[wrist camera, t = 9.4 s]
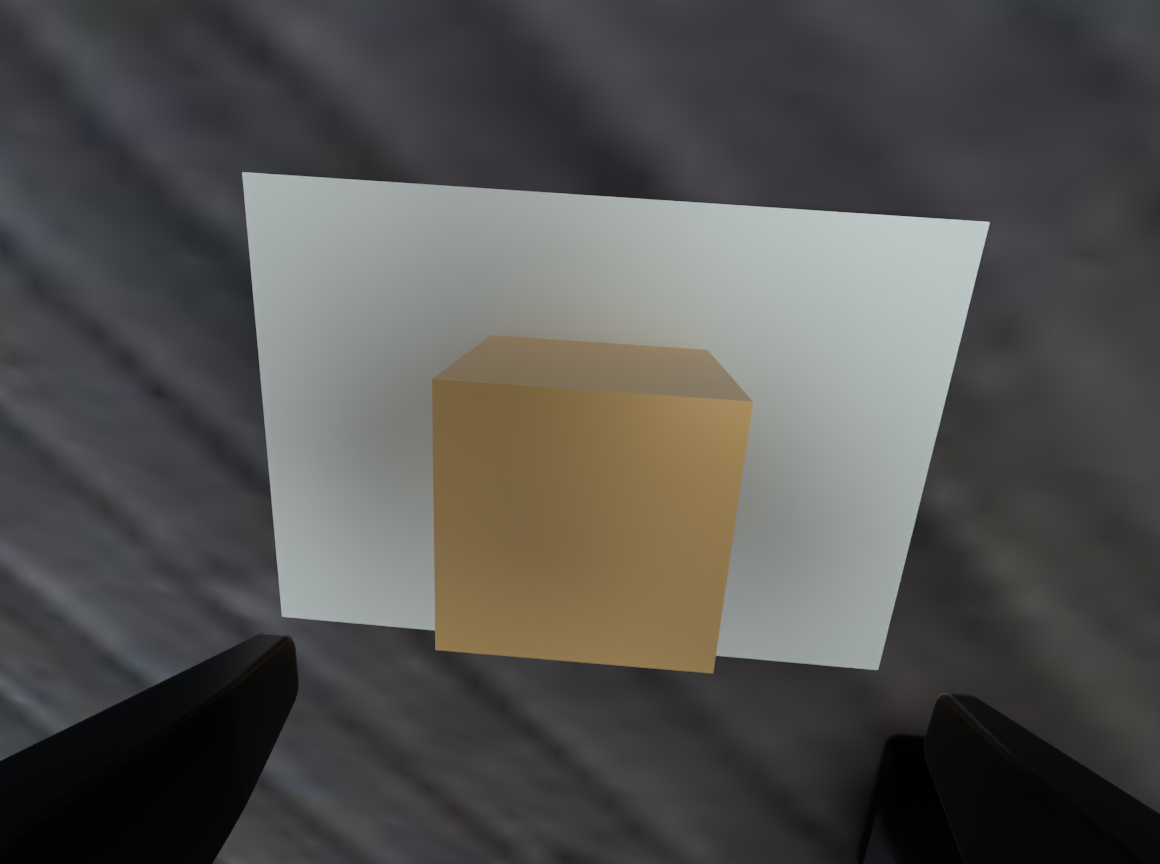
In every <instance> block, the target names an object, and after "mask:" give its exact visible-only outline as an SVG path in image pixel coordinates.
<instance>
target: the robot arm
mask: <svg viewBox="0 0 1160 864" xmlns="http://www.w3.org/2000/svg"><path fill="white" fill-rule="evenodd" d="M298 685H299V684H298V670H297V659H296V647H295V642H294V639H293V638H292V637H291V636H290V635H285V634H274V633H262V634H259V635H257V636H255V637H253V638H251V639H249V640H247V641H245V642H243V643H240V644H238V645H236V646H234V647H232V648H230V649H228V650H226V651H224V652H222V653H220V654H218V655H216V656H214V657H212V658H210V659H208V660H206V661H204V662H202V663H200V664H198V665H196V666H193V667H191V668H189V669H187V670H185V671H183V672H181V673H179V674H177V675H175V676H173V677H171V678H169V679H167V680H165V681H163V682H161V683H159V684H157V685H155V686H153V687H151V688H148V689H146V690H144V691H142V692H140V693H138V694H136V695H134V696H132V697H130V698H128V699H126V700H124V701H122V702H120V703H118V704H116V705H114V706H112V707H110V708H108V709H106V710H103V711H101V712H99V713H97V714H95V715H93V716H91V717H89V718H87V719H85V720H83V721H81V722H79V723H77V724H75V725H73V726H71V727H69V728H67V729H65V730H63V731H61V732H59V733H56V734H54V735H52V736H50V737H48V738H46V739H44V740H42V741H40V742H38V743H36V744H34V745H32V746H30V747H28V748H26V749H24V750H22V751H20V752H18V753H16V754H14V755H11V756H9V757H7V758H5V759H3V760H1V761H0V864H212V863H213V862H214V860H215V858H216V857H217V855H218V853H219V852H220V850H221V848H222V846H223V845H224V843H225V841H226V840H227V838H228V836H229V835H230V833H231V831H232V829H233V828H234V826H235V824H236V822H237V821H238V819H239V817H240V815H241V814H242V812H243V810H244V808H245V806H246V804H247V802H248V800H249V798H250V796H251V794H252V792H253V790H254V788H255V786H256V784H257V782H258V779H259V777H260V775H261V773H262V771H263V769H264V767H265V764H266V762H267V760H268V758H269V756H270V754H271V752H272V749H273V747H274V745H275V743H276V741H277V739H278V737H279V734H280V732H281V730H282V728H283V726H284V724H285V722H286V719H287V717H288V715H289V713H290V711H291V709H292V707H293V704H294V702H295V700H296V696H297V692H298ZM904 752H907V753H905V754H902V753H904ZM900 754H901V755H900ZM858 864H1160V814H1159V813H1157V812H1156V811H1154V810H1153V809H1151V808H1150V807H1148V806H1146V805H1145V804H1143V803H1142V802H1140V801H1139V800H1137V799H1135V798H1134V797H1132V796H1131V795H1129V794H1128V793H1126V792H1124V791H1123V790H1121V789H1120V788H1118V787H1116V786H1115V785H1113V784H1112V783H1110V782H1109V781H1107V780H1105V779H1104V778H1102V777H1101V776H1099V775H1098V774H1096V773H1094V772H1093V771H1091V770H1090V769H1088V768H1087V767H1085V766H1083V765H1082V764H1080V763H1079V762H1077V761H1076V760H1074V759H1072V758H1071V757H1069V756H1068V755H1066V754H1064V753H1063V752H1061V751H1060V750H1058V749H1057V748H1055V747H1053V746H1052V745H1050V744H1049V743H1047V742H1046V741H1044V740H1042V739H1041V738H1039V737H1038V736H1036V735H1035V734H1033V733H1031V732H1030V731H1028V730H1027V729H1025V728H1023V727H1022V726H1020V725H1019V724H1017V723H1016V722H1014V721H1012V720H1011V719H1009V718H1008V717H1006V716H1005V715H1003V714H1001V713H1000V712H998V711H997V710H995V709H994V708H992V707H990V706H989V705H987V704H986V703H984V702H983V701H981V700H979V699H978V698H976V697H974V696H971V695H964V694H953V693H943V694H940V695H939V696H938V697H937V698H936V701H935V703H934V707H933V710H932V714H931V718H930V721H929V725H928V728H927V732H926V735H925V739H924V740H919V739H909V738H899V739H896V740H893V741H892V742H891V743H890V744H889V746H888V748H887V752H886V755H885V759H884V763H883V767H882V770H881V774H880V778H879V782H878V785H877V789H876V793H875V797H874V800H873V804H872V808H871V812H870V815H869V819H868V823H867V826H866V830H865V834H864V838H863V841H862V845H861V849H860V853H859V856H858Z"/></svg>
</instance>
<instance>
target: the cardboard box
mask: <svg viewBox="0 0 1160 864" xmlns="http://www.w3.org/2000/svg"><path fill="white" fill-rule="evenodd" d="M752 406H753V401H752V400H751V399H750V397H749V396H748V395H747V394H746V393H745V392H744V391H743V390H742V388H741V387H740V386H739V385H738V384H737V383H736V382H735V380H734V379H733V378H732V377H731V376H730V375H729V374H728V372H727V371H726V370H725V369H724V368H723V367H722V366H721V364H720V363H719V362H718V361H717V360H716V359H715V358H714V357H713V355H712V354H711V353H710V352H709V351H708V350H704V349H689V348H674V347H659V346H644V345H629V344H615V343H600V342H585V341H570V340H555V339H540V338H525V337H511V336H496V335H491V336H489V337H488V338H487V339H485V340H484V341H483V342H481V343H480V344H479V345H477V346H476V347H475V348H473V349H472V350H470V351H469V352H468V353H466V354H465V355H464V356H462V357H461V358H460V359H458V360H457V361H456V362H454V363H453V364H452V365H450V366H449V367H448V368H446V369H445V370H444V371H442V372H441V373H440V374H438V375H437V376H436V377H434V378H433V379H432V418H433V499H434V580H435V650H441V651H453V652H465V653H477V654H489V655H500V656H512V657H524V658H536V659H548V660H559V661H571V662H583V663H595V664H607V665H618V666H630V667H642V668H654V669H666V670H677V671H689V672H701V673H713V671H714V665H715V658H716V651H717V644H718V637H719V630H720V624H721V617H722V610H723V603H724V596H725V590H726V583H727V576H728V569H729V562H730V556H731V549H732V542H733V535H734V528H735V522H736V515H737V508H738V501H739V494H740V488H741V481H742V474H743V467H744V460H745V454H746V447H747V440H748V433H749V426H750V419H751V413H752Z"/></svg>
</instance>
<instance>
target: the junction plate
mask: <svg viewBox="0 0 1160 864" xmlns="http://www.w3.org/2000/svg"><path fill="white" fill-rule="evenodd" d="M242 177H243V188H244V199H245V210H246V221H247V233H248V244H249V255H250V266H251V277H252V288H253V299H254V311H255V322H256V333H257V344H258V355H259V366H260V377H261V389H262V400H263V411H264V422H265V433H266V444H267V456H268V467H269V478H270V489H271V500H272V511H273V522H274V534H275V545H276V556H277V567H278V578H279V589H280V600H281V612H282V617H290V618H301V619H312V620H323V621H334V622H346V623H357V624H368V625H379V626H390V627H401V628H413V629H424V630H435V580H434V499H433V418H432V379H433V378H434V377H436V376H437V375H438V374H440V373H441V372H442V371H444V370H445V369H446V368H448V367H449V366H450V365H452V364H453V363H454V362H456V361H457V360H458V359H460V358H461V357H462V356H464V355H465V354H466V353H468V352H469V351H470V350H472V349H473V348H475V347H476V346H477V345H479V344H480V343H481V342H483V341H484V340H485V339H487V338H488V337H489V336H491V335H496V336H511V337H525V338H540V339H555V340H570V341H585V342H600V343H615V344H629V345H644V346H659V347H674V348H689V349H704V350H708V351H709V352H710V353H711V354H712V355H713V357H714V358H715V359H716V360H717V361H718V362H719V363H720V364H721V366H722V367H723V368H724V369H725V370H726V371H727V372H728V374H729V375H730V376H731V377H732V378H733V379H734V380H735V382H736V383H737V384H738V385H739V386H740V387H741V388H742V390H743V391H744V392H745V393H746V394H747V395H748V396H749V397H750V399H751V400H752V401H753V406H752V413H751V419H750V426H749V433H748V440H747V447H746V454H745V460H744V467H743V474H742V481H741V488H740V494H739V501H738V508H737V515H736V522H735V528H734V535H733V542H732V549H731V556H730V562H729V569H728V576H727V583H726V590H725V596H724V603H723V610H722V617H721V624H720V630H719V637H718V644H717V651H716V656H725V657H736V658H747V659H759V660H770V661H781V662H792V663H803V664H814V665H825V666H837V667H848V668H859V669H870V670H878V668H879V664H880V660H881V656H882V652H883V648H884V644H885V640H886V636H887V632H888V628H889V624H890V620H891V616H892V612H893V608H894V604H895V600H896V596H897V592H898V588H899V584H900V580H901V576H902V572H903V568H904V564H905V560H906V556H907V552H908V548H909V544H910V540H911V536H912V532H913V528H914V524H915V520H916V516H917V512H918V508H919V504H920V500H921V496H922V492H923V488H924V484H925V480H926V476H927V472H928V468H929V464H930V460H931V456H932V452H933V448H934V444H935V440H936V436H937V432H938V428H939V424H940V420H941V416H942V412H943V408H944V404H945V400H946V396H947V392H948V388H949V384H950V380H951V376H952V372H953V368H954V364H955V360H956V356H957V352H958V348H959V344H960V340H961V336H962V332H963V328H964V324H965V320H966V316H967V312H968V308H969V304H970V300H971V296H972V292H973V288H974V284H975V280H976V276H977V272H978V268H979V264H980V260H981V256H982V252H983V248H984V244H985V240H986V236H987V232H988V228H989V224H990V222H982V221H967V220H952V219H937V218H922V217H907V216H892V215H877V214H862V213H847V212H832V211H817V210H802V209H787V208H772V207H757V206H742V205H727V204H712V203H697V202H682V201H667V200H652V199H637V198H622V197H607V196H592V195H577V194H562V193H547V192H532V191H517V190H502V189H487V188H472V187H457V186H442V185H427V184H412V183H398V182H383V181H368V180H353V179H338V178H323V177H308V176H293V175H278V174H263V173H248V172H242Z"/></svg>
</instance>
